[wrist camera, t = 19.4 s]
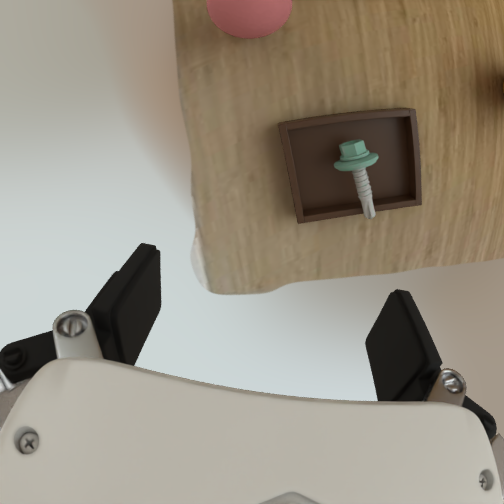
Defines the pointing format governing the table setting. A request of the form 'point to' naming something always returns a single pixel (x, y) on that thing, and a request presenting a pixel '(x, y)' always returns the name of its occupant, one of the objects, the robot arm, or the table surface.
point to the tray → (342, 182)
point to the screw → (358, 171)
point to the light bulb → (249, 16)
